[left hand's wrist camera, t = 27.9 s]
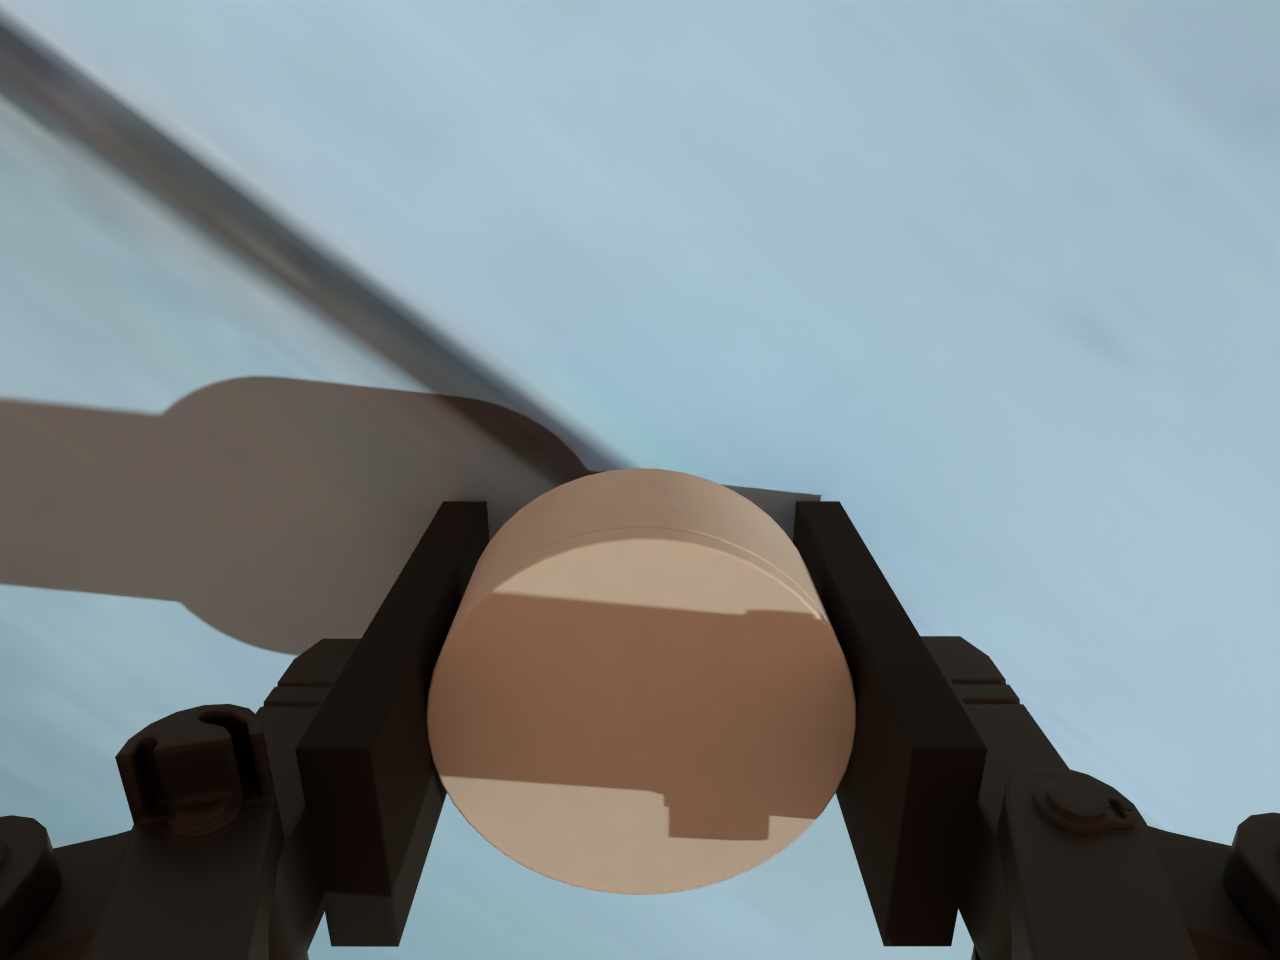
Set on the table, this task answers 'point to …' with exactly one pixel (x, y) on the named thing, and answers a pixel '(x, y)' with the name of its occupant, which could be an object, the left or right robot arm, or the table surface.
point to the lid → (641, 687)
